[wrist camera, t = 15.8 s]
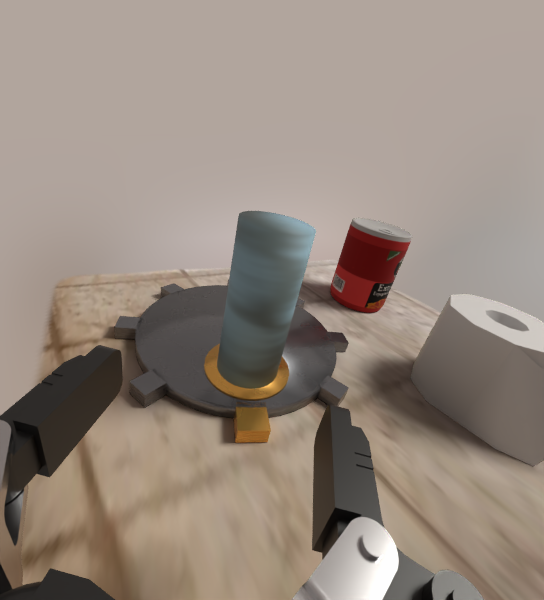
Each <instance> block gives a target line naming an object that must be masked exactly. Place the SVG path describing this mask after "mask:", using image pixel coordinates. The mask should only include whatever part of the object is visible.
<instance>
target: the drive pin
mask: <svg viewBox="0 0 544 600" xmlns="http://www.w3.org/2000/svg"><path fill="white" fill-rule="evenodd" d="M315 233H316V230H315V229H314V228H313V227H312V226H310V225H309V224H307V223H305V222H303V221H300V220H298V219H295V218H291V217H288V216H285V215H280V214H276V213H270V212H261V211H246V212H242V213H240V214H239V218H238V224H237V231H236V238H235V244H234V251H233V258H232V265H231V271H230V278H229V285H228V292H227V299H226V305H225V312H224V319H223V326H222V333H221V339H220V346H219V353H218V360H217V368H218V371H219V373H220V375H221V376H222V377H223V378H224V379H225V380H226V381H228V382H229V383H231V384H233V385H236V386H238V387H242V388H249V389H255V388H261V387H264V386H267V385H269V384H270V383H272V382H273V381H274V379H275V378H276V376H277V373H278V369H279V365H280V362H281V358H282V354H283V350H284V347H285V343H286V339H287V336H288V332H289V328H290V325H291V321H292V317H293V314H294V310H295V306H296V303H297V299H298V295H299V292H300V288H301V284H302V281H303V277H304V273H305V270H306V266H307V262H308V259H309V255H310V251H311V248H312V244H313V240H314V236H315Z"/></svg>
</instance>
